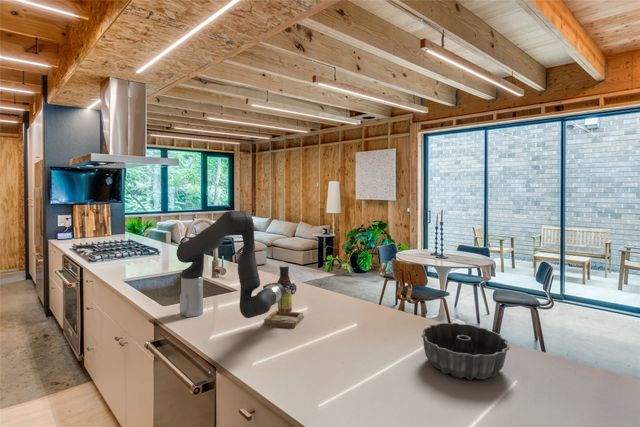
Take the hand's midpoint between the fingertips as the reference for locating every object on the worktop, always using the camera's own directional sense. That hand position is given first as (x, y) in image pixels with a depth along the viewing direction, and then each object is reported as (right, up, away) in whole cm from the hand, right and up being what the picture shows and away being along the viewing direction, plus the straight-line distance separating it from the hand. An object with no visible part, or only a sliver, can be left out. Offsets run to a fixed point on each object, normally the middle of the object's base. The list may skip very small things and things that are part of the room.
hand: (286, 284), depth 163 cm
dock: (-1, -16, -1) cm, 16 cm away
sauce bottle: (-1, -11, -2) cm, 12 cm away
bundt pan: (+61, -19, -43) cm, 77 cm away
